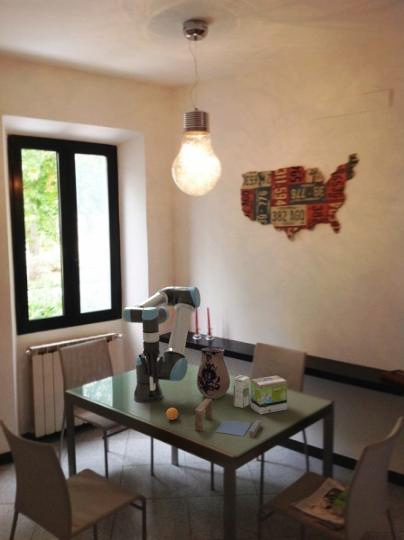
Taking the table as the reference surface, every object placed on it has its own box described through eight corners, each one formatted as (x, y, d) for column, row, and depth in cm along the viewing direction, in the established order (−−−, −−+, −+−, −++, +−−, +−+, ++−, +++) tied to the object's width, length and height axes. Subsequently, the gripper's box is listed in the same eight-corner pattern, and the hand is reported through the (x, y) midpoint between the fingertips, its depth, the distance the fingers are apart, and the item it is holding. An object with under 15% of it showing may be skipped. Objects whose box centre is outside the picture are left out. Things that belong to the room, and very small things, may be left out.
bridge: (195, 430, 217) (194, 410, 216) (206, 417, 230) (206, 398, 229) (201, 431, 216) (200, 411, 215) (212, 418, 229) (212, 399, 228)
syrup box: (240, 402, 248) (239, 374, 246) (249, 405, 244) (249, 376, 242) (233, 405, 243) (232, 377, 242) (243, 408, 239) (242, 380, 238)
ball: (164, 421, 227) (164, 409, 227) (169, 416, 232) (169, 405, 232) (175, 422, 225) (174, 411, 225) (180, 417, 230) (179, 406, 230)
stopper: (249, 436, 209) (249, 431, 209) (256, 425, 220) (256, 419, 220) (253, 437, 208) (253, 431, 208) (260, 425, 220) (260, 420, 219)
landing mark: (214, 432, 214) (214, 431, 214) (224, 420, 226) (224, 419, 226) (243, 436, 210) (243, 435, 210) (251, 424, 222) (251, 423, 222)
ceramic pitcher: (193, 400, 252) (191, 353, 249) (203, 386, 272) (202, 342, 269) (226, 403, 247) (225, 355, 244) (234, 388, 267) (233, 344, 264)
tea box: (261, 415, 231) (260, 385, 229) (250, 408, 240) (250, 379, 238) (288, 409, 237) (287, 380, 235) (276, 402, 246) (276, 374, 244)
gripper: (134, 341, 227) (136, 390, 230) (160, 343, 222) (161, 393, 225) (142, 337, 234) (144, 385, 236) (167, 339, 229) (168, 388, 232)
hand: (152, 389), depth 231 cm, fingers closed
